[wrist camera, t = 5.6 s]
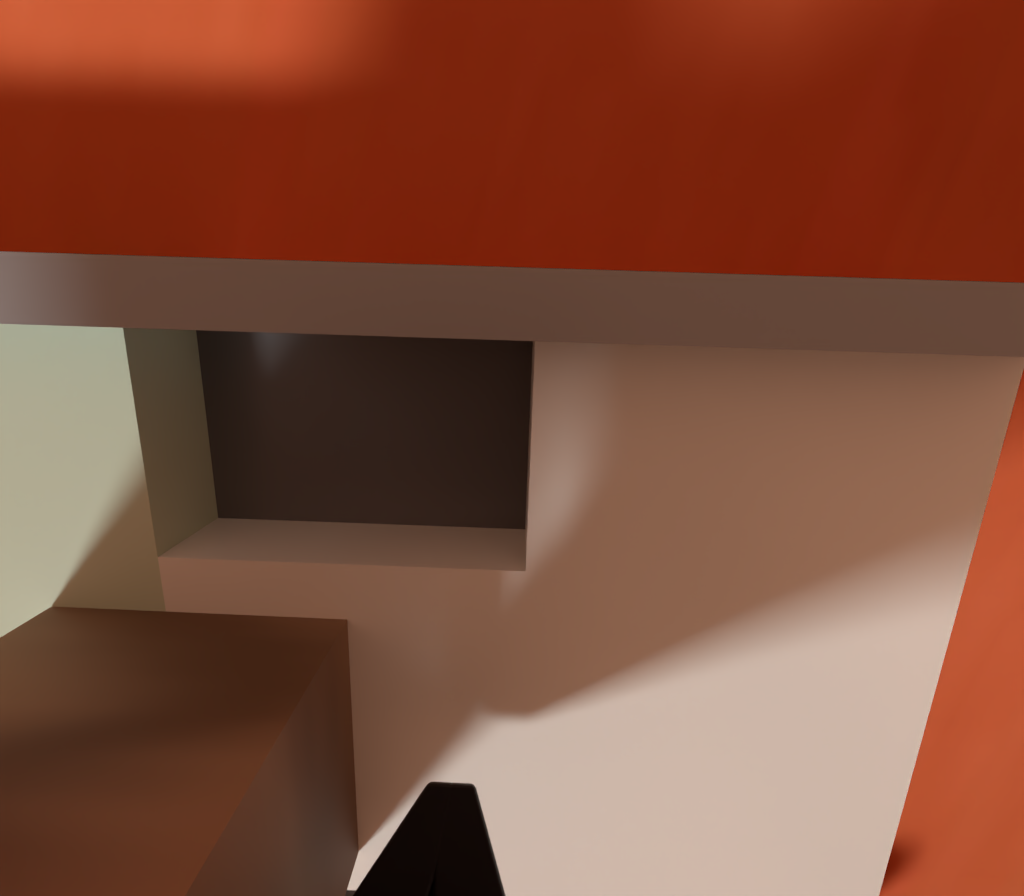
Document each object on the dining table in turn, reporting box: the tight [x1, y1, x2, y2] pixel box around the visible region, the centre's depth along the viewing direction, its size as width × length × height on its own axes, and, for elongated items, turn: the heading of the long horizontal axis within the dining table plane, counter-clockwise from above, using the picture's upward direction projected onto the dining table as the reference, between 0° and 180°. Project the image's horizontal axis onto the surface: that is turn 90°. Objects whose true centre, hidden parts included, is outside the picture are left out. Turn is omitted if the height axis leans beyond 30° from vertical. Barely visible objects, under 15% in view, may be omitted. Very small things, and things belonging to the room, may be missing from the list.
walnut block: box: [0, 606, 359, 896], centre depth 7 cm, size 5×5×4 cm
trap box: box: [0, 251, 1024, 896], centre depth 9 cm, size 20×16×4 cm
